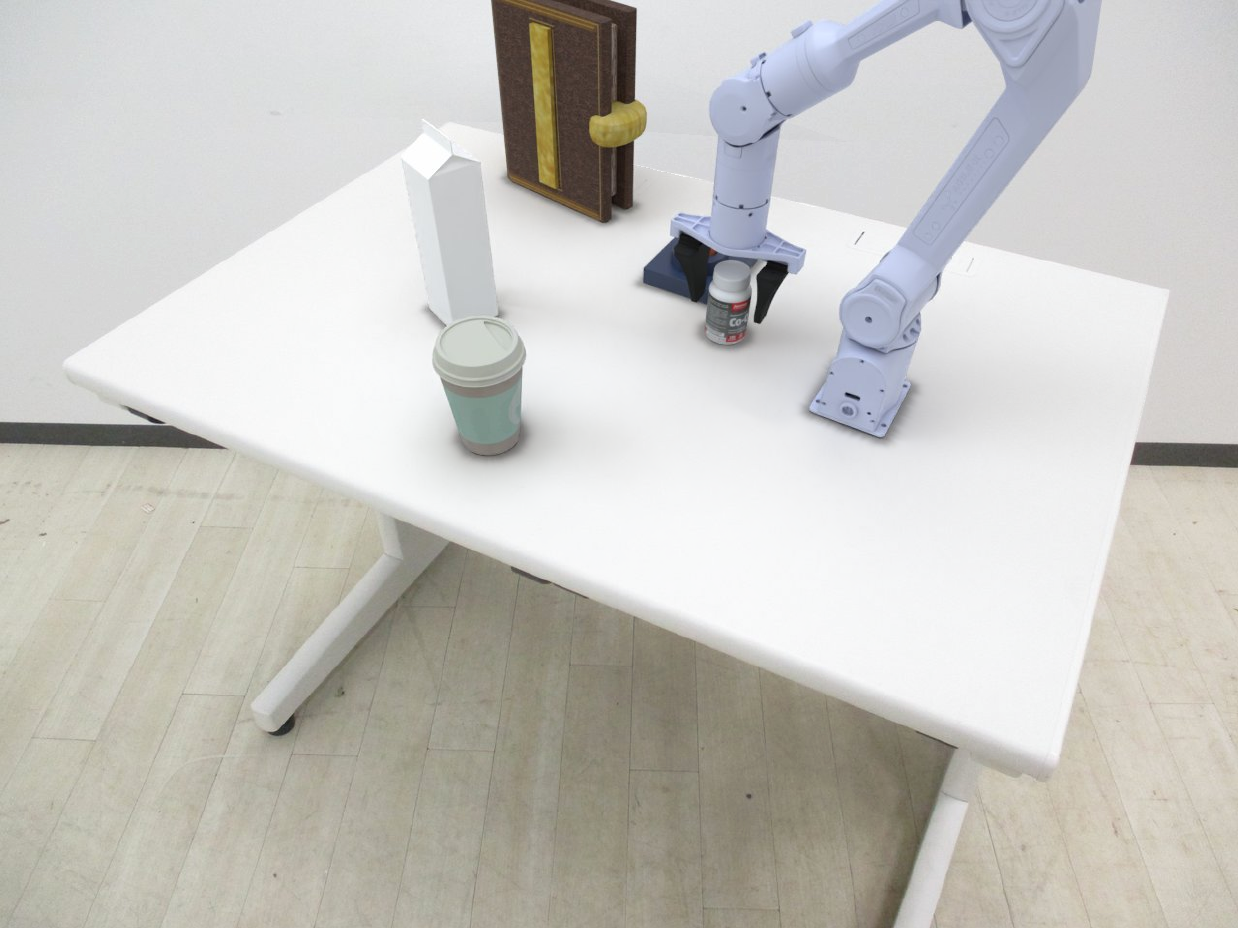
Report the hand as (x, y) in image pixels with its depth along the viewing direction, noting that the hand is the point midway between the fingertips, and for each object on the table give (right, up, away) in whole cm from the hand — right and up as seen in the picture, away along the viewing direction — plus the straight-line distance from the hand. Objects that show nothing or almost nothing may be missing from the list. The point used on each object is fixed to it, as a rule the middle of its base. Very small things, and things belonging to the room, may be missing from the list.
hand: (728, 308), depth 94 cm
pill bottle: (0, -2, +3) cm, 4 cm away
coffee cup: (-25, -15, -9) cm, 30 cm away
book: (-18, +20, +25) cm, 37 cm away
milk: (-30, 0, +5) cm, 31 cm away
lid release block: (-2, +7, +11) cm, 13 cm away
